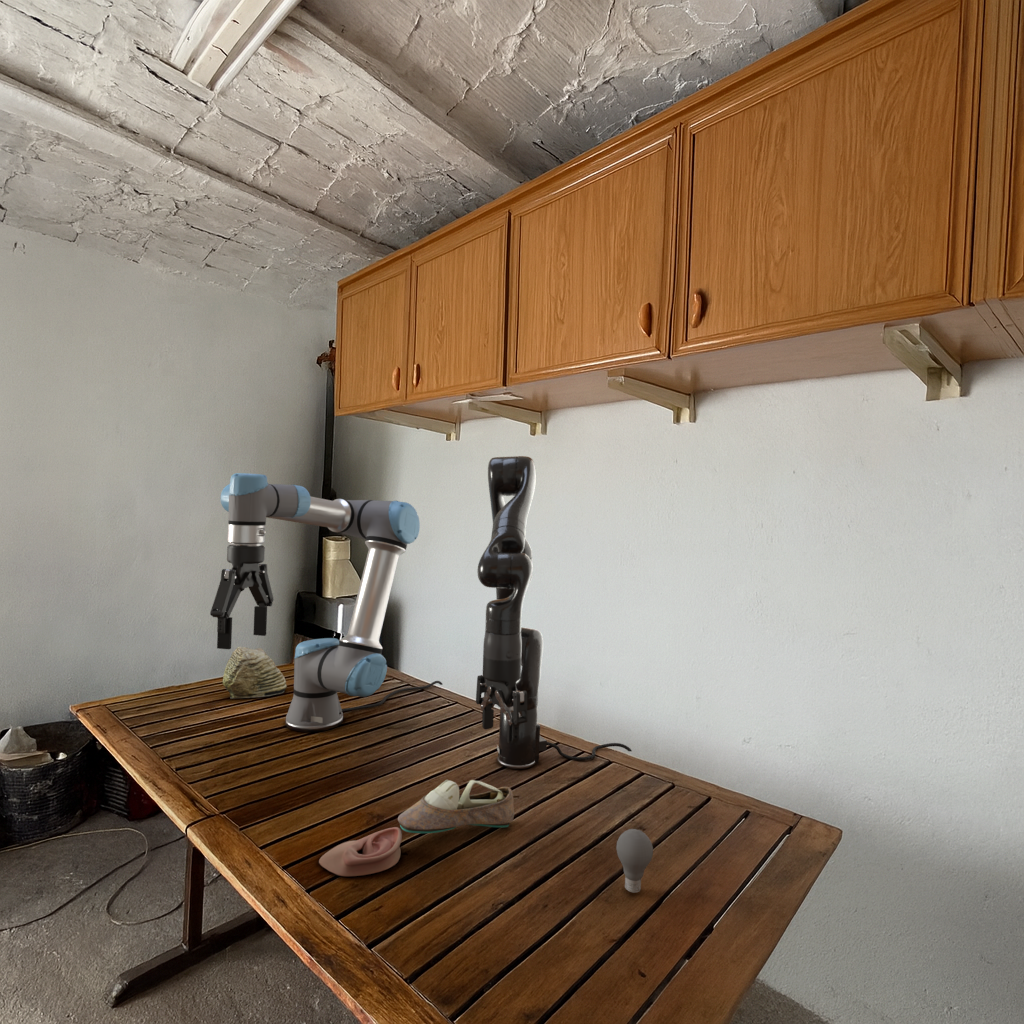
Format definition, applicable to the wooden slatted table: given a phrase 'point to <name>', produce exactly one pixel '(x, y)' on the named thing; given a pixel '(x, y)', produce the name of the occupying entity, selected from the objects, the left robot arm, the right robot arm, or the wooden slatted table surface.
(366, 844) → the anatomical model
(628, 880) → the light bulb
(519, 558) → the right robot arm
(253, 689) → the fossil
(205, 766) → the wooden slatted table surface
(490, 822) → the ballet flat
